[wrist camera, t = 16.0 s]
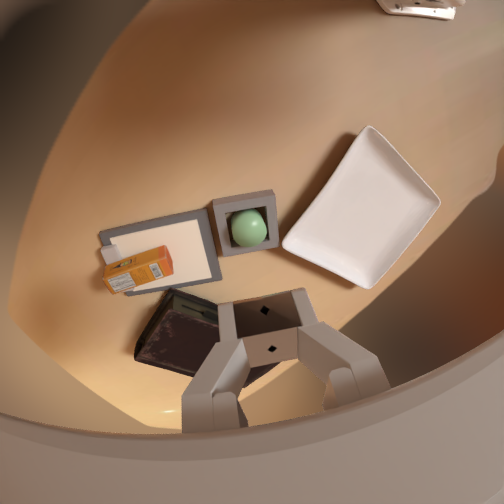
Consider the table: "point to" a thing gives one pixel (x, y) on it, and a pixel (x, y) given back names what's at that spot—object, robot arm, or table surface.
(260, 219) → the button
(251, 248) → the button bezel
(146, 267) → the supplement box
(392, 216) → the salad plate
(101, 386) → the table surface
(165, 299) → the diary
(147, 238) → the clipboard
